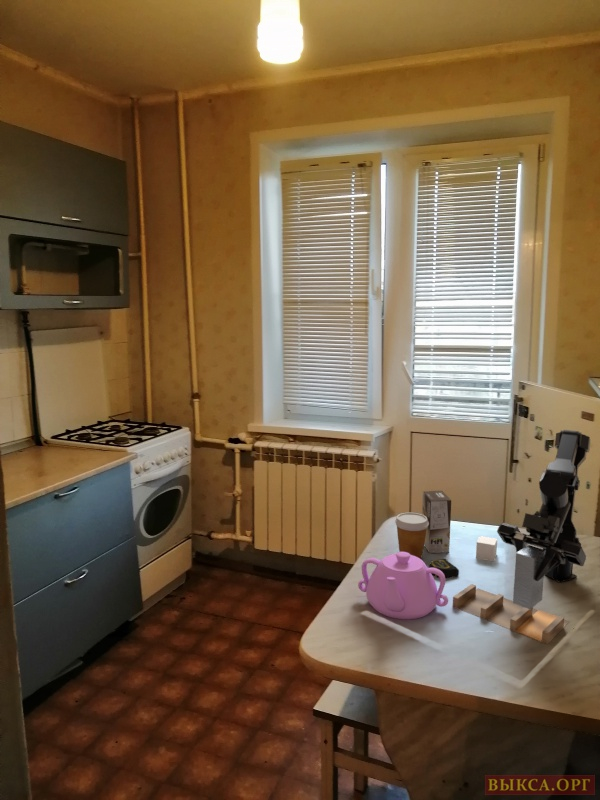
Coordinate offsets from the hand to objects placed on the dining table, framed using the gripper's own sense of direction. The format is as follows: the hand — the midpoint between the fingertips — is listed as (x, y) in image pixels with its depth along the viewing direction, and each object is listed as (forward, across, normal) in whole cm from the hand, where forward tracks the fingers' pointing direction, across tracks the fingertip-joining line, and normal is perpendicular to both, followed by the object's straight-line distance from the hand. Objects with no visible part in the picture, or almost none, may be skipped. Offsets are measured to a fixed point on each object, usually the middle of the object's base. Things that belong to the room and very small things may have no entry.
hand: (526, 577), depth 135 cm
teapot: (+18, -25, 0) cm, 31 cm away
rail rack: (+7, -5, +11) cm, 14 cm away
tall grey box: (+4, 0, +6) cm, 7 cm away
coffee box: (-9, -40, +27) cm, 49 cm away
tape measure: (+2, -28, +17) cm, 33 cm away
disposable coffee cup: (-1, -40, +19) cm, 45 cm away
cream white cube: (-12, -25, +31) cm, 42 cm away
